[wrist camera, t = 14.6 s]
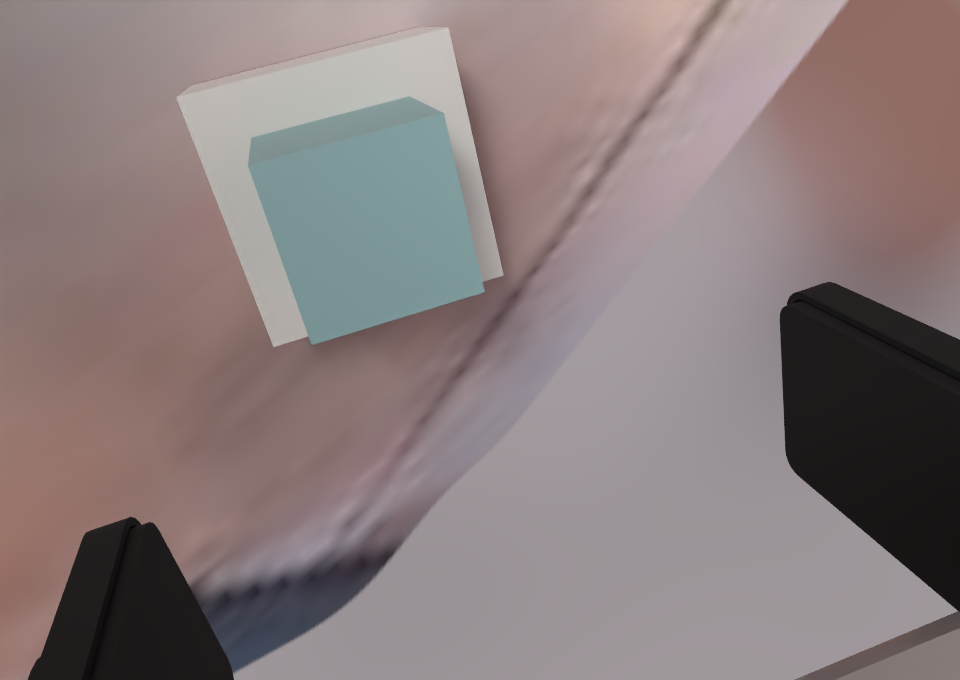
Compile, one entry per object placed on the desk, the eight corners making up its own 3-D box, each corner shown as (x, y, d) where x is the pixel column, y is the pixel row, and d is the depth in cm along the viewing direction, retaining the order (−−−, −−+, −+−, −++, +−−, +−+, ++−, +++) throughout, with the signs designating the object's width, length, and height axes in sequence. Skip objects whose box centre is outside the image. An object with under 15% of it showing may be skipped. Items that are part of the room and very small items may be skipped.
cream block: (191, 85, 31) (176, 97, 26) (418, 27, 32) (448, 27, 27) (272, 298, 35) (273, 347, 30) (468, 239, 37) (503, 275, 31)
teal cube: (251, 137, 27) (247, 165, 21) (409, 96, 28) (443, 113, 22) (303, 287, 29) (311, 345, 24) (446, 245, 30) (485, 292, 25)
